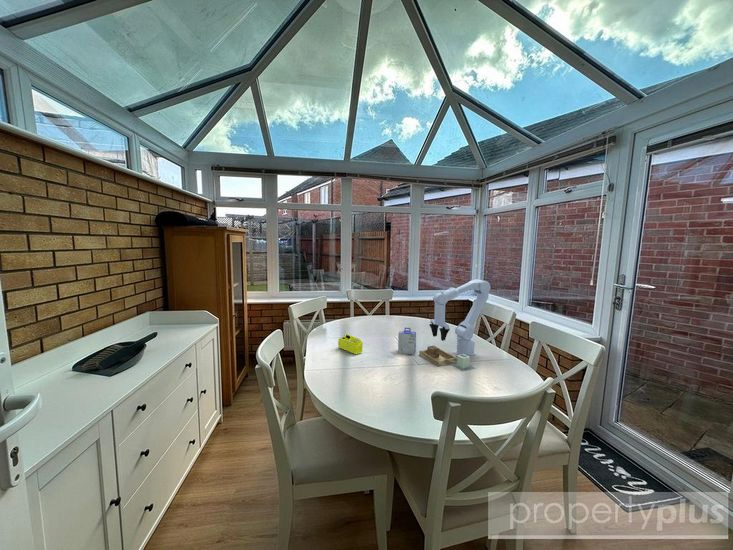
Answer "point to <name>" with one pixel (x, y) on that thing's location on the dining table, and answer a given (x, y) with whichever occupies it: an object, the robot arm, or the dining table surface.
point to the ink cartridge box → (407, 341)
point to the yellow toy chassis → (350, 344)
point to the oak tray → (439, 358)
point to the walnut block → (433, 351)
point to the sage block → (463, 361)
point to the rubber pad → (461, 368)
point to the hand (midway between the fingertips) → (438, 338)
